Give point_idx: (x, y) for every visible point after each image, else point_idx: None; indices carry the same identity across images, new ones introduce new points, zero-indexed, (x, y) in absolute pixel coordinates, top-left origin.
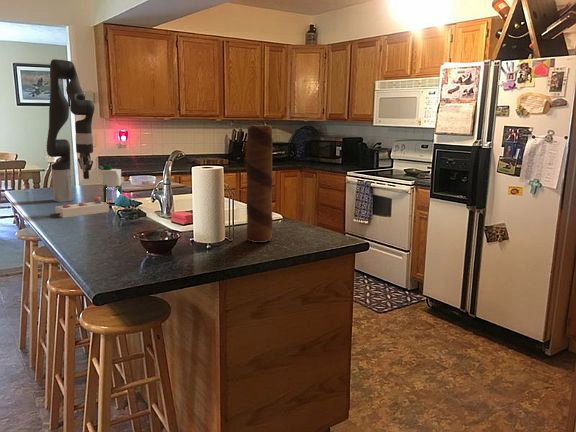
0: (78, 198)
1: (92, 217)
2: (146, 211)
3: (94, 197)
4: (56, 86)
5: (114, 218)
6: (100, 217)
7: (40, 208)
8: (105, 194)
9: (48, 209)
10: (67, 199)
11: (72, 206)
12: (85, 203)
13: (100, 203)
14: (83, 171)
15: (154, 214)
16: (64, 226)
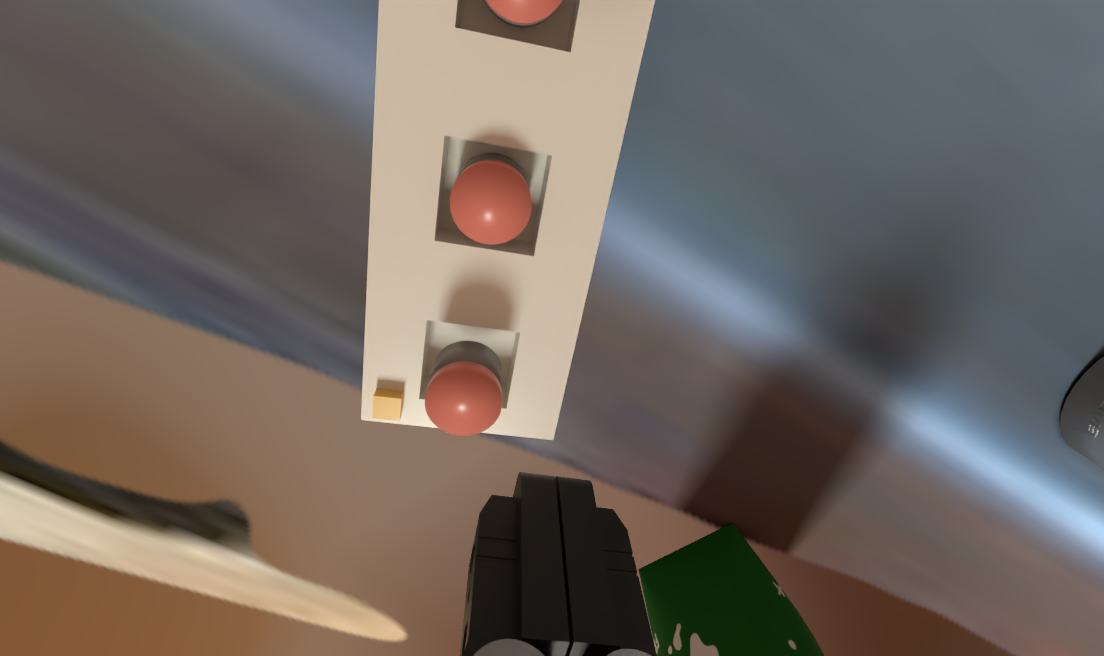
0: (1071, 505)
1: (211, 114)
2: (194, 555)
3: (483, 381)
4: None
5: (21, 236)
6: (159, 172)
7: (1097, 23)
8: (742, 593)
9: (973, 51)
10: (1085, 401)
11: (499, 55)
12: (457, 225)
13: None
14: (582, 637)
15: (27, 535)
16: None
